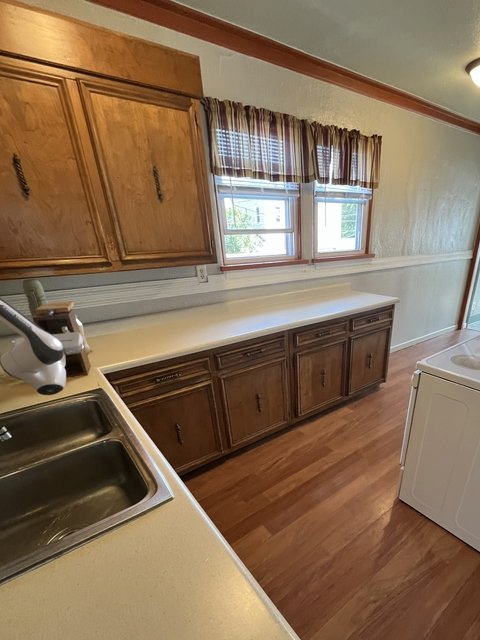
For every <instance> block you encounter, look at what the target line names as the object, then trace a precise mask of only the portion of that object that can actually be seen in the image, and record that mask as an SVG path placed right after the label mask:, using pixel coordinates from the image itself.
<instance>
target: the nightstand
mask: <svg viewBox="0 0 480 640" xmlns="http://www.w3.org/2000/svg"><path fill="white" fill-rule="evenodd" d="M75 314H76V313H75V311H74V309H73V308H71V310H70V311H69V312H58V313H54V314H53V315H52V316H51V317H49V318H48V317H46V316H45V314H36V315H35V316H34V317H32V322H34V323H35V324H36V325H38V326H39V327H40V328H42V329H43V330H45V331H47V332H48V333H50V334H52V335H54V334H64V333H63V331H62V327H67V329H68V331H69V332H70V333H74V332H78V333H80V330H79V327H78V324H77V320H78V319H77V320H76V317H75ZM80 334H81V333H80ZM83 347H84V349H83V351H81V352H79V353H74V354H68V355H65V358H66V365H65V367H64V368H65V370H66V379H68V378H69V377H70V378H75V377H76V376H77V377H83V376H89V373H90V369H91V367H92V366H91V361H90V359H89V356H88V354H87V352H86V349H85V346H84V343H83ZM70 378H69V379H70Z"/></svg>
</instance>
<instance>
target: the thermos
mask: <svg viewBox="0 0 480 640" xmlns="http://www.w3.org/2000/svg"><path fill="white" fill-rule="evenodd" d="M22 289H23V292H24V294H25V297H26V299H27V303H28V305H27V307H28V309H29V312H30V315H31V318H33V317H34V316H35V315H36V311H35V310H36V309H37V308H39V307H40V306H41V305H42V304H44V303H50V302H49V301H48V299H47V298H46V293H45V290H44V287H43V285H42V283H41V282H40V281H39V279H37V278H33V279H32V278H31V279H29V278H28V279H24V280H23V281H22Z"/></svg>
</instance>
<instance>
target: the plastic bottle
mask: <svg viewBox="0 0 480 640" xmlns="http://www.w3.org/2000/svg"><path fill="white" fill-rule="evenodd" d="M74 314H75V317H76V320H77V324H78V327H79V330H80V333H81V336H82V338H83V343H84V346H85V349H86V352H87V355H88V354H90V353H91V348H90V346H89V344H88V342H87V338H86V336H85V331H84V324H83V323H82V322H81V321H80V320H79V319H78V316H77V314H76V313H74Z"/></svg>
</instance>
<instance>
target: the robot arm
mask: <svg viewBox="0 0 480 640" xmlns="http://www.w3.org/2000/svg"><path fill="white" fill-rule="evenodd" d="M0 322H2V323H3V324H4V325H6V326H7V327H9V328H10V329H11V330H13V331H14V332H15V333H16V334H18V335H20V336H21V337H17V338H16V339H15V347H12V348H10V349H8V350H6V351H5V352H4V353H2V354H1V355H0V366H1V369H2V370H3V371H4V373H5V374H6V375H8V376H9V377H12V378H15V379H18V380H21V381H24V382H25V383H27V384H28V385H29V386H31V387H32V388H33V389H34V391H35V392H36V393H37V394H39V395H42V396H55V395H57V394H59V393H60V392H62V391H63V390H64V389H65V387H66V383H67V378H66V370H65V368H64V367H65V365H66V358H65V355H68V354H74V353H79V352H81V351H83V349H84V347H83V338H82V336H81V334H80V333H78V332H74V333H70V332H69V331H68V329H67V327H62V331H63V333H64V334H54V335H52V334H50V333H48V332H47V331H45V330H43V329H42V328H40V327H39V326H38V325H36V324H35V323H34V321H33V320H31V319H30V318H29V317H27V316H26V315H24V314H23V313H22V312H21V311H19V310H18V309H17V308H16V307H14V306H13V305H12V304H10V303H9V302H8V301H6V300H5V299H4V298H2V297H0Z"/></svg>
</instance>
